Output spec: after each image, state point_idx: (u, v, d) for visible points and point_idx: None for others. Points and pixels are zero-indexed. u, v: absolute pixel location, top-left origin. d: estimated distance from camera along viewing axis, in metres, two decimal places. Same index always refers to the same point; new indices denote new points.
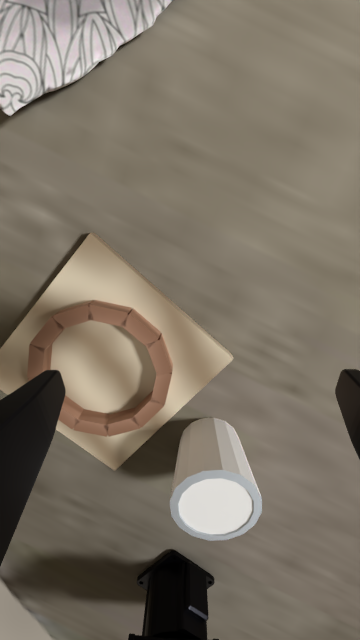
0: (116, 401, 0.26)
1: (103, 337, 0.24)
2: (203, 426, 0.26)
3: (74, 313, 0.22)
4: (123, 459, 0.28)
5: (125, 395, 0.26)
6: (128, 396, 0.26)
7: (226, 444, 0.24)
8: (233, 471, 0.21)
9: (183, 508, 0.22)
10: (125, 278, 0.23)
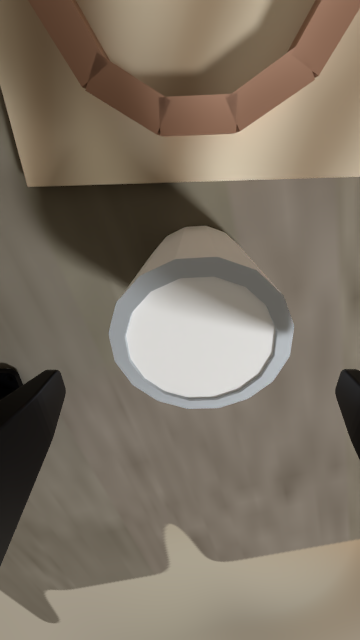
0: (147, 50, 0.11)
1: None
2: (230, 239, 0.15)
3: None
4: (61, 180, 0.14)
5: (174, 55, 0.11)
6: (178, 64, 0.11)
7: None
8: (288, 312, 0.10)
9: (149, 306, 0.10)
10: None
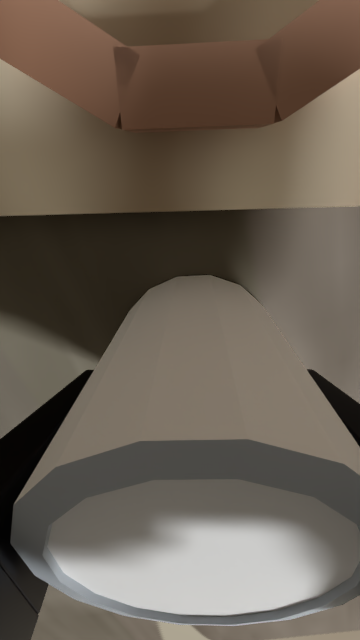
0: None
1: None
2: (251, 302, 0.09)
3: None
4: None
5: None
6: None
7: None
8: None
9: (89, 512, 0.05)
10: None
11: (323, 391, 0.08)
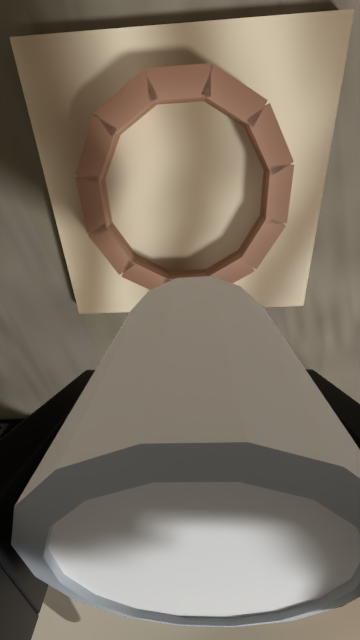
0: (156, 246, 0.19)
1: (220, 162, 0.16)
2: (251, 304, 0.09)
3: (241, 93, 0.14)
4: (101, 310, 0.21)
5: (172, 249, 0.19)
6: (175, 253, 0.19)
7: None
8: None
9: (89, 514, 0.05)
10: (318, 119, 0.15)
11: (323, 391, 0.08)
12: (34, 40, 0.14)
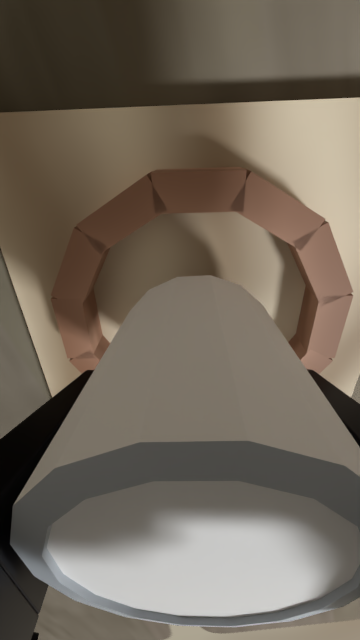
0: None
1: (248, 274, 0.12)
2: (251, 303, 0.09)
3: (288, 209, 0.09)
4: None
5: None
6: None
7: None
8: None
9: (88, 514, 0.05)
10: None
11: (323, 391, 0.08)
12: None
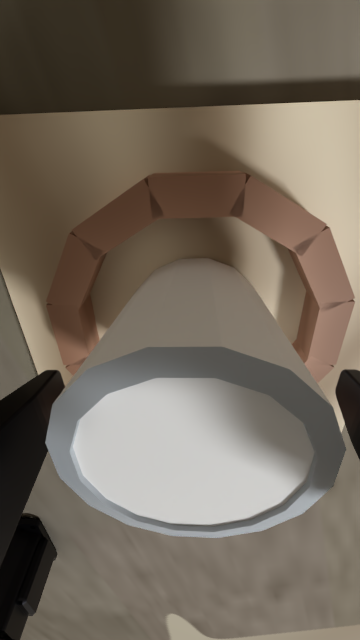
0: None
1: (247, 280, 0.12)
2: (241, 280, 0.10)
3: (289, 214, 0.09)
4: None
5: None
6: None
7: None
8: None
9: (107, 412, 0.06)
10: None
11: None
12: None
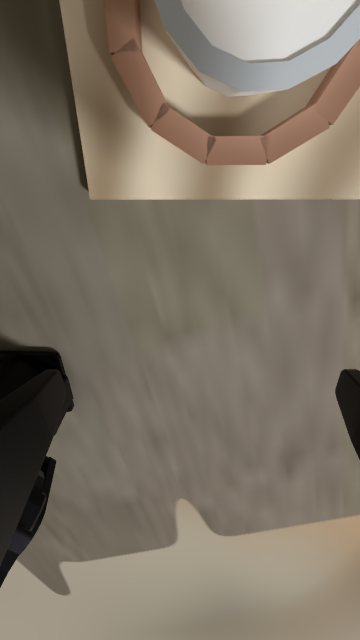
0: (198, 97, 0.14)
1: None
2: None
3: None
4: (118, 195, 0.17)
5: (219, 102, 0.14)
6: (221, 108, 0.15)
7: None
8: None
9: None
10: None
11: None
12: None
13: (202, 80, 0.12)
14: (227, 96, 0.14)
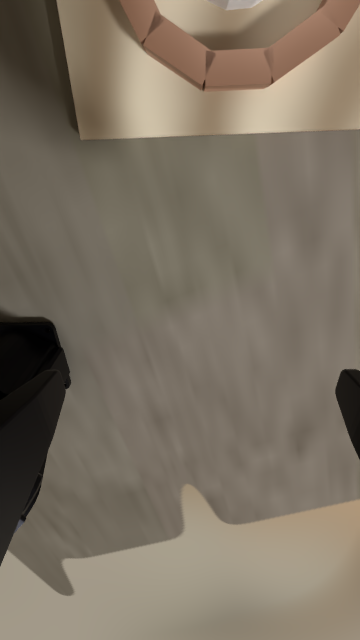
0: (194, 12, 0.13)
1: None
2: None
3: None
4: (110, 133, 0.16)
5: (217, 17, 0.13)
6: (220, 25, 0.13)
7: None
8: None
9: None
10: None
11: None
12: None
13: None
14: (226, 8, 0.13)
